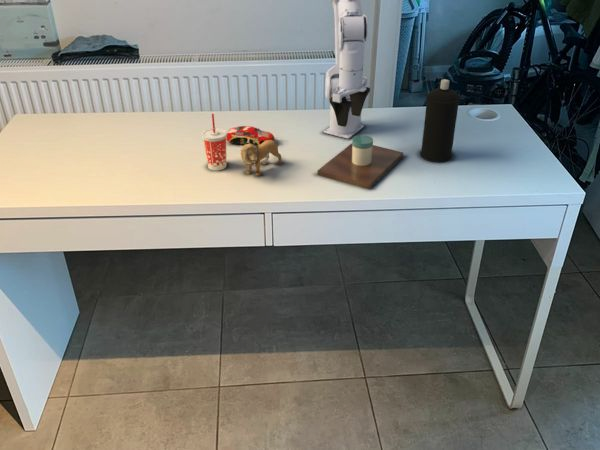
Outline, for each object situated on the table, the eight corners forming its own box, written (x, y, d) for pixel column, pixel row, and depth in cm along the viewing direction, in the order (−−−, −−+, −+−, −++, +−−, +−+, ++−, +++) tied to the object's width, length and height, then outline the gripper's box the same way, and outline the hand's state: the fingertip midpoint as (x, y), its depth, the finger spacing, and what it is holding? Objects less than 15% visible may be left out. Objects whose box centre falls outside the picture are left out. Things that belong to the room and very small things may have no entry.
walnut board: (354, 144, 165) (355, 140, 165) (403, 156, 159) (403, 152, 158) (317, 174, 151) (317, 170, 150) (368, 189, 145) (369, 184, 144)
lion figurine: (255, 184, 147) (253, 149, 142) (236, 178, 149) (234, 145, 144) (286, 159, 158) (285, 127, 153) (268, 155, 160) (267, 123, 155)
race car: (277, 140, 168) (276, 126, 166) (271, 148, 164) (271, 134, 161) (231, 135, 171) (230, 122, 168) (224, 143, 166) (223, 130, 164)
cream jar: (354, 155, 157) (355, 133, 154) (374, 158, 155) (375, 136, 152) (349, 164, 153) (349, 142, 150) (368, 167, 151) (370, 145, 148)
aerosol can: (452, 163, 155) (463, 87, 145) (419, 161, 157) (427, 85, 146) (452, 149, 162) (462, 76, 151) (420, 147, 164) (428, 74, 153)
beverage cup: (233, 162, 157) (229, 111, 149) (222, 173, 152) (218, 120, 144) (211, 159, 158) (207, 107, 151) (200, 169, 154) (195, 117, 146)
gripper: (352, 79, 141) (349, 133, 148) (379, 62, 151) (375, 113, 159) (325, 74, 144) (324, 127, 152) (353, 57, 155) (351, 108, 162)
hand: (349, 120), depth 155 cm, fingers open, 7 cm apart
